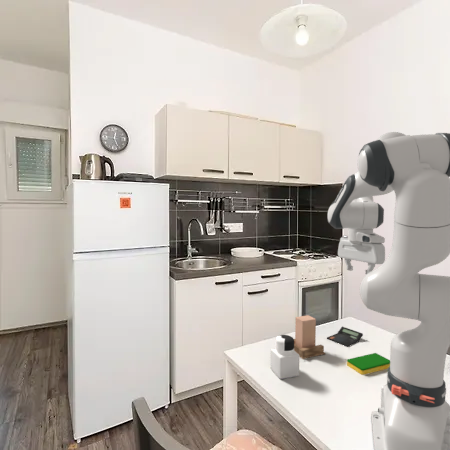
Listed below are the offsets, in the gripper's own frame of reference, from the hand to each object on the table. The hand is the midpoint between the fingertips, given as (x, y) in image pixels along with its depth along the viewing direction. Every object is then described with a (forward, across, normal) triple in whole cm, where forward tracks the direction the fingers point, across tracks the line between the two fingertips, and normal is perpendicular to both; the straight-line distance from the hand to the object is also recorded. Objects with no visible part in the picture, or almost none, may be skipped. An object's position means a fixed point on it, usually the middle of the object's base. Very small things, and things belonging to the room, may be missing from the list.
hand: (358, 272), depth 117 cm
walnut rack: (+30, -6, -19) cm, 36 cm away
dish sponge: (+31, +11, -5) cm, 33 cm away
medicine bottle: (+32, +4, -35) cm, 47 cm away
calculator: (+30, -9, +3) cm, 32 cm away
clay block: (+30, -6, -19) cm, 36 cm away
